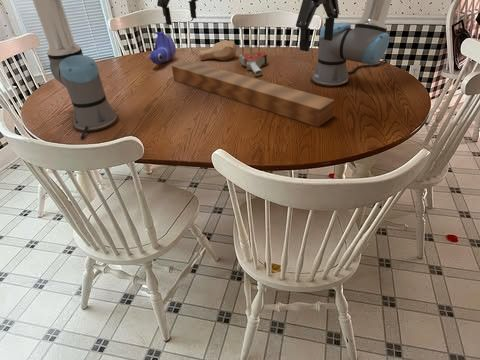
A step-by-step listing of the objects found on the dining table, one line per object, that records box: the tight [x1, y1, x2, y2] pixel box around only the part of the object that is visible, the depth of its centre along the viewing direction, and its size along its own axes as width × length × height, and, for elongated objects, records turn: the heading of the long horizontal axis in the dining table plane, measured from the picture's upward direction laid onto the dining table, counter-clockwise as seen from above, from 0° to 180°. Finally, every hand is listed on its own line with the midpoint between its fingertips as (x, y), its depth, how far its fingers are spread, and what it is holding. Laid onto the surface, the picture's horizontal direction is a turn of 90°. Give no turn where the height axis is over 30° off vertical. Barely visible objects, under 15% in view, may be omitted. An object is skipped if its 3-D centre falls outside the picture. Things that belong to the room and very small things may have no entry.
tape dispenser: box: [239, 51, 268, 77], centre depth 171 cm, size 18×5×20 cm
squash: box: [198, 39, 238, 61], centre depth 185 cm, size 11×20×9 cm, turn 92°
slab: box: [171, 59, 335, 128], centre depth 144 cm, size 78×9×7 cm, turn 48°
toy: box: [148, 31, 177, 69], centre depth 182 cm, size 10×17×25 cm
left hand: (181, 21), depth 150 cm, fingers open, 13 cm apart
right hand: (316, 45), depth 112 cm, fingers open, 13 cm apart
